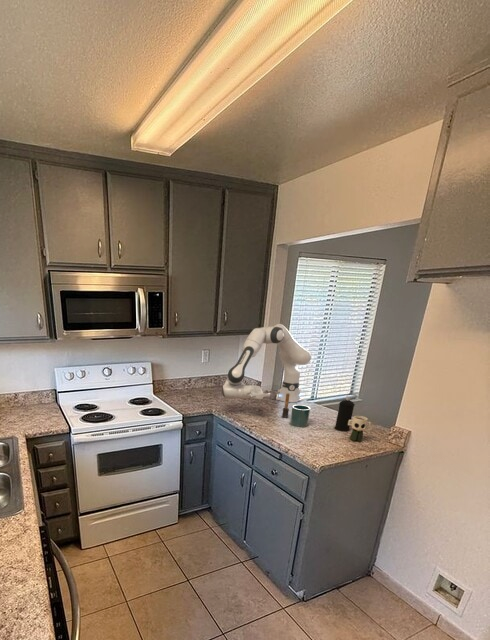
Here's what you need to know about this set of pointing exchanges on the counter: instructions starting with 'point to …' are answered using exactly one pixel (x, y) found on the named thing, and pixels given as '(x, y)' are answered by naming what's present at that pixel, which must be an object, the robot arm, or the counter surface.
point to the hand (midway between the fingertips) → (269, 392)
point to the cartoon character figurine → (358, 427)
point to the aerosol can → (344, 414)
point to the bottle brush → (286, 407)
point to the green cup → (300, 415)
